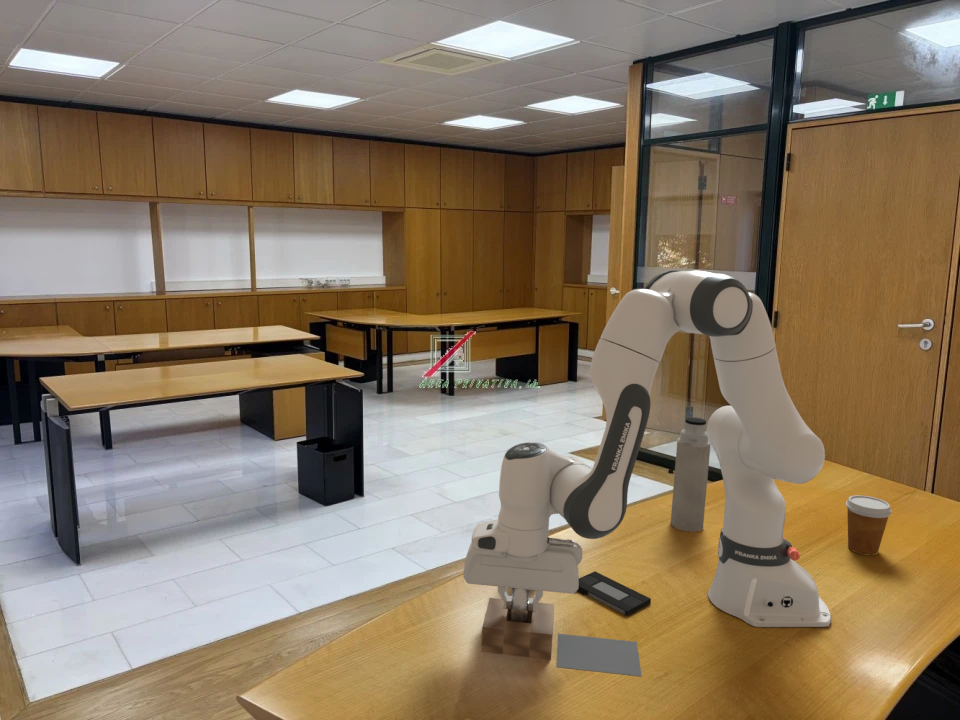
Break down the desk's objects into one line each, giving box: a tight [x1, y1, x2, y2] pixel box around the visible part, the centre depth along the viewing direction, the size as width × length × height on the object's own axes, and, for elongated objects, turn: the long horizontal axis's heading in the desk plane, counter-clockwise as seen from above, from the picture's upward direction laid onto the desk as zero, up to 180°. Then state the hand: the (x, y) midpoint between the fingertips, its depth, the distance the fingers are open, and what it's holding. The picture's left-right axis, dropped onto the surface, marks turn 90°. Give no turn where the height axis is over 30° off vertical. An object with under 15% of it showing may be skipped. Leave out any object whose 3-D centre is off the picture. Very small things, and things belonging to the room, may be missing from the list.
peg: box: [511, 588, 530, 623], centre depth 122 cm, size 3×3×10 cm
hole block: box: [481, 597, 555, 660], centre depth 123 cm, size 12×10×5 cm
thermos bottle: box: [670, 416, 712, 533], centre depth 173 cm, size 8×8×28 cm
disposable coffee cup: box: [845, 494, 892, 556], centre depth 164 cm, size 10×10×12 cm
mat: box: [556, 633, 643, 677], centre depth 120 cm, size 14×10×1 cm
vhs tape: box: [575, 571, 652, 617], centre depth 139 cm, size 8×14×2 cm, turn 41°
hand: (519, 608), depth 122 cm, fingers closed on peg, 3 cm apart
